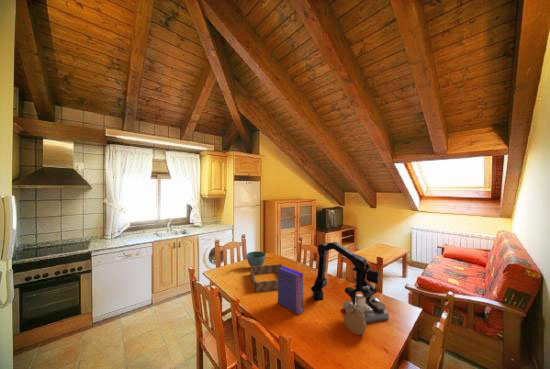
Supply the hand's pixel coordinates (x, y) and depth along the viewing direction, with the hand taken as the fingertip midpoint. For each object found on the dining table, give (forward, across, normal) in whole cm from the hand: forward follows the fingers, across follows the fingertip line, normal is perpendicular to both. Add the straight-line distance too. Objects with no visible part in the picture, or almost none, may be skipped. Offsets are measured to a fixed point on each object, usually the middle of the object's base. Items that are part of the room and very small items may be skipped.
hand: (360, 304), depth 126 cm
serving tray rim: (+7, -46, +55) cm, 72 cm away
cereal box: (+7, -40, +17) cm, 44 cm away
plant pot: (+7, -53, +85) cm, 100 cm away
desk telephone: (+6, +3, 0) cm, 7 cm away
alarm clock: (+7, -13, -13) cm, 20 cm away
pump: (+2, 0, 0) cm, 2 cm away
